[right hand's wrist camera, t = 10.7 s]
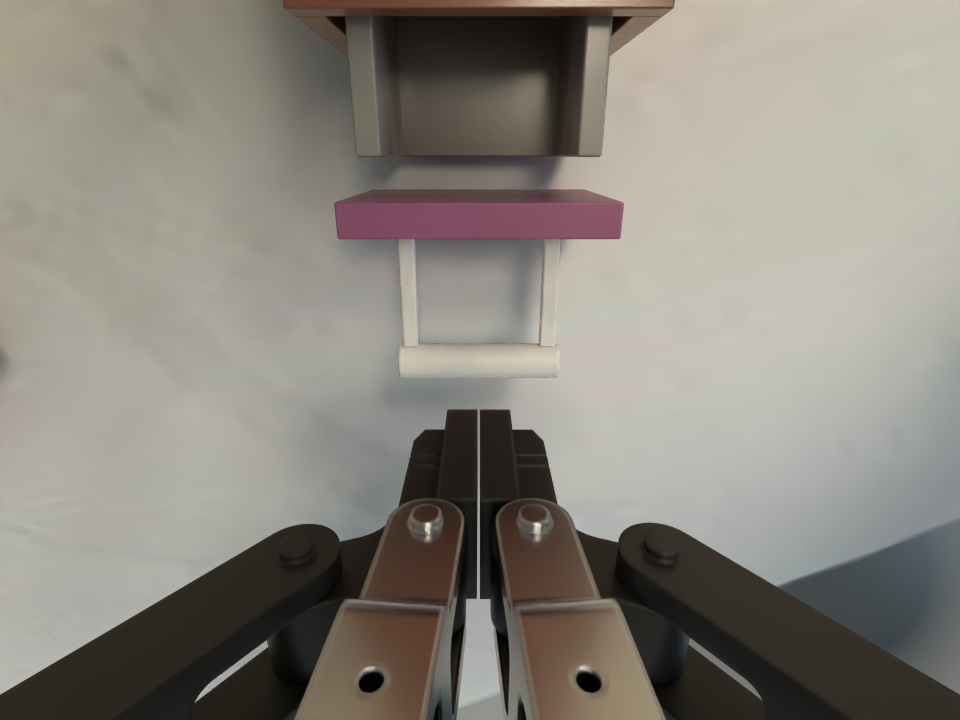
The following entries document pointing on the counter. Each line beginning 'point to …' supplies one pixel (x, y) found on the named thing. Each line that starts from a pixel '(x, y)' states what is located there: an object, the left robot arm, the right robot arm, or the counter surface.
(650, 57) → the counter surface
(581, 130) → the drawer
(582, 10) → the cabinet
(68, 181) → the counter surface
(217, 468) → the counter surface
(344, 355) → the counter surface
